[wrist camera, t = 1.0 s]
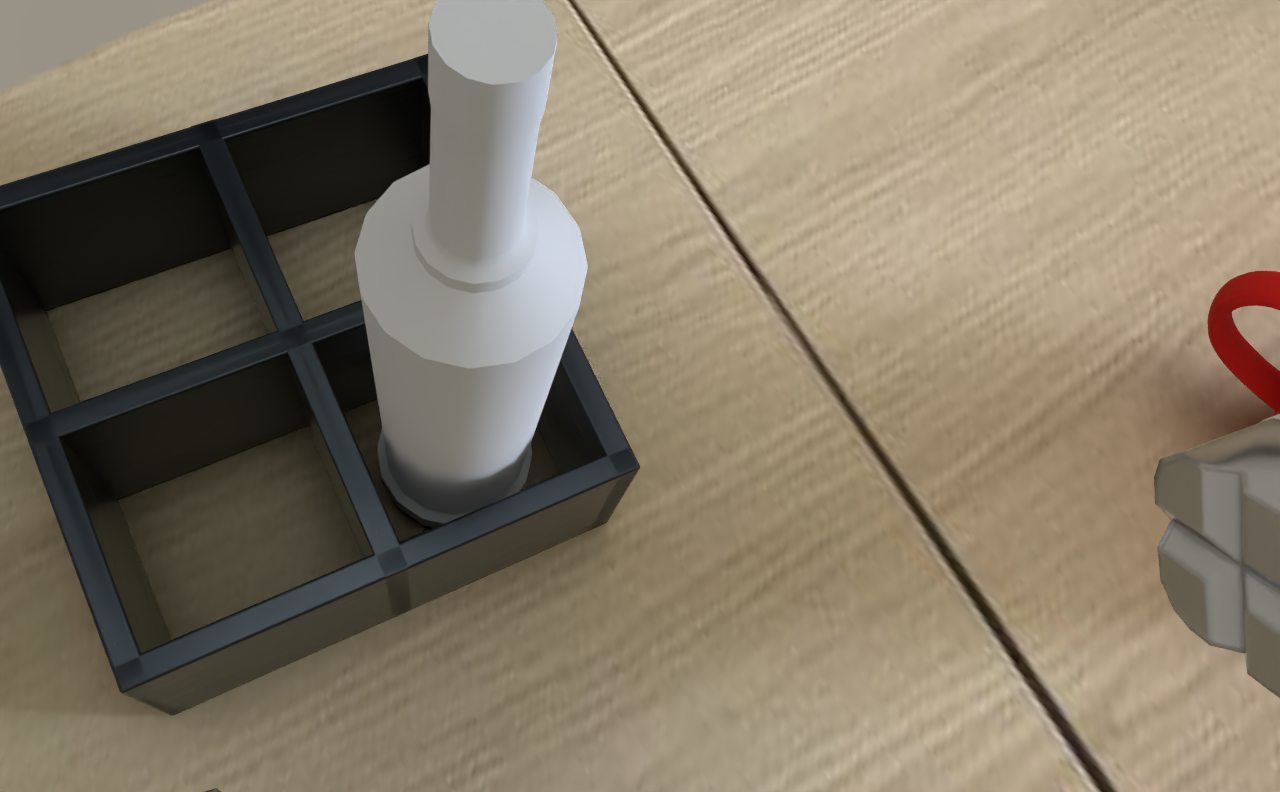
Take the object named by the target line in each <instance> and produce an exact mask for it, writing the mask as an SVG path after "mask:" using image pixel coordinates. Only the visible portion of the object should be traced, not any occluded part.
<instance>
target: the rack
mask: <svg viewBox="0 0 1280 792" xmlns="http://www.w3.org/2000/svg"><path fill="white" fill-rule="evenodd" d="M430 130H431V104H430V98H429V93H428V54H426V55H422V56H419V57H416V58H413V59H411V60H407V61H404V62H401V63H398V64H394V65H391V66H388V67H385V68H381V69H378V70H375V71H372V72H368V73H365V74H362V75H359V76H355V77H352V78H349V79H346V80H342V81H339V82H336V83H333V84H329V85H326V86H323V87H320V88H316V89H313V90H310V91H307V92H303V93H300V94H297V95H294V96H290V97H287V98H284V99H281V100H277V101H274V102H271V103H268V104H264V105H261V106H258V107H255V108H251V109H248V110H245V111H242V112H238V113H235V114H232V115H229V116H225V117H222V118H219V119H216V120H211V121H207V122H204V123H201V124H198V125H194V126H191V127H190V128H186V129H183V130H180V131H177V132H173V133H170V134H167V135H164V136H160V137H157V138H154V139H151V140H147V141H144V142H141V143H138V144H134V145H131V146H128V147H125V148H121V149H118V150H115V151H112V152H108V153H105V154H102V155H99V156H95V157H92V158H89V159H86V160H82V161H79V162H76V163H73V164H69V165H66V166H63V167H60V168H56V169H53V170H50V171H47V172H43V173H40V174H37V175H34V176H30V177H27V178H24V179H20V180H17V181H14V182H11V183H7V184H4V185H1V186H0V365H1V368H2V371H3V374H4V376H5V379H6V382H7V385H8V387H9V390H10V393H11V395H12V398H13V401H14V404H15V406H16V409H17V412H18V415H19V417H20V420H21V423H22V425H23V428H24V431H25V434H26V436H27V439H28V442H29V445H30V447H31V450H32V453H33V455H34V458H35V461H36V464H37V466H38V469H39V472H40V475H41V477H42V480H43V483H44V486H45V488H46V491H47V494H48V496H49V499H50V502H51V505H52V507H53V510H54V513H55V516H56V518H57V521H58V524H59V526H60V529H61V532H62V535H63V537H64V540H65V543H66V546H67V548H68V551H69V554H70V556H71V559H72V562H73V565H74V567H75V570H76V573H77V576H78V578H79V581H80V584H81V587H82V589H83V592H84V595H85V597H86V600H87V603H88V606H89V608H90V611H91V614H92V617H93V619H94V622H95V625H96V627H97V630H98V633H99V636H100V638H101V641H102V644H103V647H104V649H105V652H106V655H107V657H108V660H109V663H110V666H111V668H112V671H113V674H114V677H115V679H116V682H117V685H118V688H119V690H120V692H121V693H123V694H125V695H127V696H129V697H132V698H134V699H136V700H138V701H140V702H143V703H145V704H147V705H149V706H151V707H154V708H156V709H158V710H160V711H162V712H165V713H167V714H169V715H175V714H177V713H180V712H182V711H184V710H186V709H189V708H191V707H193V706H195V705H198V704H200V703H202V702H204V701H207V700H209V699H211V698H213V697H216V696H218V695H220V694H222V693H225V692H227V691H229V690H231V689H234V688H236V687H238V686H240V685H243V684H245V683H247V682H249V681H252V680H254V679H256V678H258V677H261V676H263V675H265V674H267V673H270V672H272V671H274V670H276V669H279V668H281V667H283V666H285V665H287V664H290V663H292V662H294V661H296V660H299V659H301V658H303V657H305V656H308V655H310V654H312V653H314V652H317V651H319V650H321V649H323V648H326V647H328V646H330V645H332V644H335V643H337V642H339V641H341V640H344V639H346V638H348V637H350V636H353V635H355V634H357V633H359V632H362V631H364V630H366V629H368V628H371V627H373V626H375V625H377V624H380V623H382V622H384V621H386V620H389V619H391V618H393V617H396V616H398V615H400V614H402V613H405V612H407V611H409V610H411V609H413V608H415V607H418V606H420V605H422V604H424V603H427V602H429V601H431V600H433V599H436V598H438V597H440V596H442V595H445V594H447V593H449V592H451V591H454V590H456V589H458V588H460V587H463V586H465V585H467V584H469V583H472V582H474V581H476V580H478V579H481V578H483V577H485V576H487V575H490V574H492V573H494V572H496V571H499V570H501V569H503V568H505V567H508V566H510V565H512V564H514V563H517V562H519V561H521V560H523V559H526V558H528V557H530V556H532V555H535V554H537V553H539V552H541V551H543V550H546V549H548V548H550V547H552V546H555V545H557V544H559V543H561V542H564V541H566V540H568V539H570V538H573V537H575V536H577V535H579V534H582V533H584V532H586V531H588V530H591V529H593V528H595V527H598V526H600V525H602V524H604V523H607V521H608V520H609V518H610V516H611V515H612V513H613V511H614V510H615V508H616V507H617V505H618V503H619V502H620V500H621V498H622V497H623V495H624V493H625V492H626V490H627V488H628V487H629V485H630V483H631V482H632V480H633V478H634V477H635V475H636V474H637V472H638V470H639V469H640V465H639V463H638V461H637V459H636V457H635V455H634V453H633V451H632V449H631V447H630V445H629V443H628V441H627V439H626V437H625V435H624V433H623V431H622V429H621V427H620V425H619V423H618V421H617V419H616V417H615V415H614V413H613V411H612V409H611V407H610V405H609V403H608V401H607V399H606V397H605V395H604V393H603V391H602V389H601V387H600V384H599V382H598V380H597V378H596V376H595V374H594V372H593V370H592V368H591V366H590V364H589V362H588V360H587V358H586V356H585V354H584V352H583V350H582V348H581V346H580V344H579V342H578V340H577V338H576V336H575V334H574V332H573V330H572V328H571V331H570V334H569V337H568V340H567V342H566V345H565V348H564V351H563V354H562V356H561V359H560V362H559V365H558V368H557V370H556V373H555V376H554V379H553V382H552V384H551V387H550V390H549V393H548V396H547V399H546V401H545V404H544V407H543V410H542V413H541V415H540V418H539V421H538V424H537V426H538V428H539V430H540V432H541V434H542V436H543V438H544V440H545V443H546V445H547V447H548V449H549V451H550V453H551V455H552V457H553V459H554V461H555V464H556V466H557V468H558V470H559V472H560V474H559V475H557V476H555V477H552V478H550V479H548V480H545V481H543V482H541V483H538V484H536V485H534V486H531V487H529V488H527V489H524V490H522V491H520V492H517V493H515V494H513V495H510V496H508V497H506V498H503V499H501V500H498V501H496V502H494V503H491V504H489V505H487V506H484V507H482V508H480V509H477V510H475V511H473V512H470V513H468V514H466V515H463V516H461V517H459V518H456V519H454V520H452V521H449V522H447V523H445V524H442V525H440V526H438V527H435V528H433V529H431V530H428V531H426V532H424V533H421V534H419V535H417V536H414V537H412V538H410V539H407V540H405V541H403V542H399V539H398V537H397V535H396V532H395V530H394V528H393V526H392V523H391V521H390V519H389V516H388V514H387V512H386V510H385V507H384V505H383V503H382V500H381V498H380V496H379V493H378V491H377V489H376V487H375V484H374V482H373V480H372V477H371V475H370V473H369V471H368V468H367V466H366V464H365V461H364V459H363V457H362V454H361V452H360V450H359V448H358V445H357V443H356V441H355V438H354V436H353V434H352V432H351V429H350V427H349V425H348V422H347V420H346V418H345V416H344V413H343V412H344V411H347V410H349V409H352V408H354V407H357V406H360V405H362V404H365V403H367V402H370V401H372V400H375V399H378V398H377V392H376V386H375V380H374V374H373V368H372V361H371V355H370V349H369V343H368V337H367V331H366V325H365V319H364V313H363V306H362V300H361V301H358V302H355V303H353V304H350V305H347V306H344V307H342V308H339V309H336V310H333V311H331V312H328V313H325V314H322V315H320V316H317V317H314V318H311V319H309V320H306V321H303V319H302V317H301V315H300V312H299V310H298V308H297V305H296V303H295V301H294V299H293V296H292V294H291V292H290V289H289V287H288V285H287V283H286V280H285V278H284V276H283V273H282V271H281V269H280V266H279V264H278V262H277V260H276V257H275V255H274V253H273V250H272V248H271V246H270V244H269V241H268V239H267V237H266V235H269V234H272V233H275V232H278V231H281V230H284V229H287V228H290V227H293V226H296V225H299V224H302V223H305V222H308V221H310V220H313V219H316V218H319V217H322V216H325V215H328V214H331V213H334V212H337V211H340V210H343V209H346V208H349V207H352V206H355V205H358V204H361V203H364V202H366V201H369V200H372V199H375V198H378V197H381V196H382V195H383V194H384V193H385V191H386V190H387V189H388V188H389V187H390V186H391V185H392V183H393V182H395V181H397V180H399V179H401V178H403V177H405V176H407V175H409V174H411V173H413V172H415V171H417V170H419V169H421V168H423V167H425V166H427V165H429V164H430ZM228 248H232V251H233V253H234V255H235V258H236V260H237V262H238V265H239V267H240V269H241V272H242V274H243V276H244V279H245V281H246V283H247V286H248V288H249V290H250V293H251V295H252V297H253V300H254V302H255V304H256V307H257V309H258V311H259V314H260V316H261V318H262V321H263V323H264V325H265V328H266V330H267V332H268V334H267V335H265V336H262V337H259V338H256V339H254V340H251V341H248V342H245V343H243V344H240V345H237V346H234V347H232V348H229V349H226V350H223V351H221V352H218V353H215V354H212V355H210V356H207V357H204V358H201V359H199V360H196V361H193V362H190V363H188V364H185V365H182V366H179V367H177V368H174V369H171V370H168V371H166V372H163V373H160V374H157V375H155V376H152V377H149V378H146V379H144V380H141V381H138V382H135V383H133V384H130V385H127V386H124V387H122V388H119V389H116V390H113V391H111V392H108V393H105V394H102V395H100V396H97V397H94V398H91V399H89V400H86V401H83V402H80V400H79V397H78V395H77V392H76V389H75V387H74V384H73V382H72V379H71V376H70V374H69V371H68V368H67V366H66V363H65V361H64V358H63V355H62V353H61V350H60V347H59V345H58V342H57V340H56V337H55V334H54V332H53V329H52V326H51V324H50V321H49V319H48V316H47V313H46V311H45V310H48V309H51V308H54V307H57V306H60V305H63V304H66V303H69V302H72V301H75V300H78V299H81V298H84V297H87V296H89V295H92V294H95V293H98V292H101V291H104V290H107V289H110V288H113V287H116V286H119V285H122V284H125V283H128V282H131V281H134V280H137V279H140V278H143V277H145V276H148V275H151V274H154V273H157V272H160V271H163V270H166V269H169V268H172V267H175V266H178V265H181V264H184V263H187V262H190V261H193V260H196V259H198V258H201V257H204V256H207V255H210V254H213V253H216V252H219V251H222V250H225V249H228ZM306 426H308V428H309V431H310V433H311V435H312V438H313V440H314V442H315V445H316V447H317V449H318V452H319V454H320V457H321V459H322V461H323V464H324V466H325V468H326V471H327V473H328V475H329V478H330V480H331V482H332V485H333V487H334V489H335V492H336V494H337V496H338V499H339V501H340V503H341V506H342V508H343V510H344V513H345V515H346V517H347V520H348V522H349V524H350V527H351V529H352V531H353V534H354V536H355V538H356V541H357V543H358V545H359V548H360V550H361V552H362V555H363V557H364V558H363V559H360V560H358V561H356V562H353V563H351V564H349V565H346V566H344V567H342V568H339V569H337V570H335V571H332V572H330V573H328V574H325V575H323V576H321V577H318V578H316V579H314V580H311V581H309V582H307V583H304V584H302V585H300V586H297V587H295V588H293V589H290V590H288V591H286V592H283V593H281V594H279V595H276V596H274V597H272V598H269V599H267V600H265V601H262V602H260V603H257V604H255V605H253V606H250V607H248V608H246V609H243V610H241V611H239V612H236V613H234V614H232V615H229V616H227V617H225V618H222V619H220V620H218V621H215V622H213V623H211V624H208V625H206V626H204V627H201V628H199V629H197V630H194V631H192V632H190V633H187V634H185V635H183V636H180V637H178V638H176V639H173V640H171V639H170V636H169V634H168V631H167V629H166V626H165V623H164V621H163V618H162V615H161V613H160V610H159V608H158V605H157V602H156V600H155V597H154V594H153V592H152V589H151V587H150V584H149V581H148V579H147V576H146V573H145V571H144V568H143V566H142V563H141V560H140V558H139V555H138V552H137V550H136V547H135V544H134V542H133V539H132V537H131V534H130V531H129V529H128V526H127V523H126V521H125V518H124V516H123V513H122V510H121V508H120V505H119V502H118V499H121V498H123V497H126V496H128V495H131V494H133V493H136V492H139V491H141V490H144V489H146V488H149V487H151V486H154V485H157V484H159V483H162V482H164V481H167V480H169V479H172V478H175V477H177V476H180V475H182V474H185V473H187V472H190V471H193V470H195V469H198V468H200V467H203V466H205V465H208V464H211V463H213V462H216V461H218V460H221V459H223V458H226V457H228V456H231V455H234V454H236V453H239V452H241V451H244V450H246V449H249V448H252V447H254V446H257V445H259V444H262V443H264V442H267V441H270V440H272V439H275V438H277V437H280V436H282V435H285V434H288V433H290V432H293V431H295V430H298V429H300V428H303V427H306Z"/></svg>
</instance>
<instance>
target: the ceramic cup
mask: <svg viewBox="0 0 1280 792" xmlns="http://www.w3.org/2000/svg"><path fill="white" fill-rule="evenodd" d="M1255 305H1258V306H1266V307H1271V308H1275V309H1278V310H1280V272H1275V271H1255V272H1249V273H1246V274H1243V275H1240V276H1237V277H1235V278H1233V279H1231V280H1230V281H1228V282H1227V283H1226V284H1225V285H1224V286H1223V287H1222V288H1221V289H1220V290H1219V292H1218V293H1217V294H1216V296H1215V298H1214V300H1213V302H1212V305H1211V307H1210V311H1209V315H1208V334H1209V338H1210V341H1211V344H1212V346H1213V348H1214V350H1215V352H1216V353H1217V355H1218V356H1219V357H1220V359H1221V360H1222V362H1223V363H1224V364H1225V365H1226V366H1227V368H1228V369H1229V370H1230V371H1231V372H1232V373H1233V374H1234V375H1235V376H1236V377H1237V378H1238V379H1239V380H1240V381H1241V382H1242V383H1243V384H1244V385H1245V386H1246V387H1247V388H1249V389H1250V390H1251V391H1252V392H1253V393H1254V394H1255V395H1257V396H1258V397H1259V398H1260V399H1261V400H1262V401H1264V402H1265V403H1266V404H1267V405H1269V406H1270V407H1271V408H1272V409H1273V410H1275V413H1274V416H1275V415H1278V414H1280V371H1278V370H1277V369H1276V368H1275V367H1273V366H1272V365H1271V364H1270V363H1269V362H1268V361H1266V360H1265V359H1264V358H1263V357H1262V356H1261V355H1260V354H1259V353H1258V352H1257V351H1256V350H1255V349H1254V348H1253V347H1252V346H1251V345H1250V344H1249V343H1248V342H1247V341H1246V340H1245V339H1244V337H1243V336H1242V335H1241V334H1240V332H1239V331H1238V329H1237V328H1236V326H1235V324H1234V321H1233V318H1232V311H1233V310H1235V309H1237V308H1240V307H1244V306H1255Z"/></svg>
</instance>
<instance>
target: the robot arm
mask: <svg viewBox="0 0 1280 792" xmlns="http://www.w3.org/2000/svg"><path fill="white" fill-rule="evenodd" d="M1154 486H1155V504H1156V505H1157V506H1158V507H1159V508H1160V509H1161V510H1162V511H1163V512H1164V513H1165V514H1166V515H1167V516H1168V517H1169V518H1171V519H1172V520H1171V522H1170V524H1169V526H1168V528H1167V530H1166V532H1165V534H1164V536H1163V538H1162V540H1161V542H1160V544H1159V546H1158V557H1159V567H1160V577H1161V582H1162V584H1163V586H1164V589H1165V591H1166V593H1167V595H1168V598H1169V600H1170V602H1171V604H1172V607H1173V609H1174V610H1175V612H1176V613H1177V614H1178V615H1179V617H1180V618H1181V619H1182V620H1183V622H1184V623H1185V624H1186V625H1187V627H1188V628H1189V629H1190V630H1191V631H1193V632H1194V633H1195V634H1196V635H1198V636H1199V637H1200V638H1201V639H1203V640H1204V641H1205V642H1206V643H1208V644H1209V645H1211V646H1215V647H1220V648H1224V649H1228V650H1232V651H1236V652H1241V653H1245V660H1246V667H1247V674H1248V675H1250V676H1251V677H1252V678H1254V679H1255V680H1256V681H1258V682H1259V683H1260V684H1262V685H1263V686H1264V687H1266V688H1267V689H1268V690H1270V691H1271V692H1272V693H1274V694H1275V695H1276V696H1278V697H1279V698H1280V414H1278V415H1275V416H1273V417H1270V418H1268V419H1265V420H1262V421H1261V422H1260V423H1258V424H1255V425H1252V426H1250V427H1247V428H1244V429H1241V430H1239V431H1236V432H1233V433H1231V434H1228V435H1225V436H1222V437H1220V438H1217V439H1214V440H1212V441H1209V442H1206V443H1204V444H1201V445H1198V446H1195V447H1193V448H1190V449H1187V450H1185V451H1182V452H1179V453H1176V454H1174V455H1171V456H1168V457H1166V458H1163V459H1160V461H1159V464H1158V468H1157V471H1156V474H1155V477H1154ZM205 792H221V791H220V790H218V789H217V788H215V789H212V790H209V791H205Z"/></svg>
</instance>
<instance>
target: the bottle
mask: <svg viewBox="0 0 1280 792" xmlns="http://www.w3.org/2000/svg"><path fill="white" fill-rule="evenodd" d="M557 38H558V33H557V28H556V24H555V19H554V15H553V13H552V12H551V10H550V9H549V7H548V6H547V5H546V3H545V2H544V1H543V0H437V1H436V2H435V4H434V7H433V10H432V14H431V17H430V21H429V36H428V93H429V98H430V104H431V130H430V164H429V165H427V166H425V167H423V168H421V169H419V170H417V171H415V172H413V173H411V174H409V175H407V176H405V177H403V178H401V179H399V180H397V181H395V182H393V183H392V185H391V186H390V187H389V188H388V189H387V190H386V191H385V193H384V194H383V195H382V196H381V197H380V198H379V199H378V201H377V202H376V203H375V204H374V205H373V206H372V207H371V209H370V210H369V211H368V212H367V213H366V216H365V219H364V222H363V226H362V229H361V232H360V236H359V239H358V242H357V246H356V249H355V252H354V255H355V261H356V268H357V274H358V281H359V288H360V294H361V300H362V306H363V313H364V319H365V325H366V331H367V337H368V343H369V349H370V355H371V361H372V368H373V374H374V380H375V386H376V392H377V398H378V404H379V410H380V417H381V423H382V431H381V434H380V438H379V442H378V445H377V451H378V458H379V464H380V471H381V478H382V482H383V484H384V485H385V487H386V489H387V490H388V492H389V493H390V495H391V496H392V498H393V500H394V501H395V503H396V504H397V506H398V507H399V509H401V510H402V511H403V512H405V513H406V514H408V515H409V516H411V517H412V518H414V519H415V520H416V521H418V522H419V523H421V524H422V525H424V526H429V527H433V528H435V527H438V526H440V525H442V524H445V523H447V522H449V521H452V520H454V519H456V518H459V517H461V516H463V515H466V514H468V513H470V512H473V511H475V510H477V509H480V508H482V507H484V506H487V505H489V504H491V503H494V502H496V501H498V500H501V499H503V498H506V497H508V496H510V495H513V494H515V493H517V492H520V491H521V490H522V489H523V487H524V485H525V483H526V480H527V476H528V471H529V467H530V462H531V458H532V453H533V452H532V447H531V441H532V438H533V435H534V432H535V429H536V427H537V424H538V421H539V418H540V415H541V413H542V410H543V407H544V404H545V401H546V399H547V396H548V393H549V390H550V387H551V384H552V382H553V379H554V376H555V373H556V370H557V368H558V365H559V362H560V359H561V356H562V354H563V351H564V348H565V345H566V342H567V340H568V337H569V334H570V331H571V328H572V326H573V323H574V320H575V317H576V314H577V311H578V309H579V305H580V301H581V296H582V292H583V287H584V283H585V278H586V274H587V269H588V265H587V261H586V256H585V251H584V247H583V242H582V237H581V233H580V228H579V226H578V225H577V223H576V222H575V220H574V219H573V218H572V216H571V215H570V213H569V212H568V210H567V209H566V208H565V206H564V205H563V203H562V202H561V201H560V199H559V198H558V196H557V195H556V193H554V192H553V191H551V190H550V189H548V188H547V187H545V186H544V185H542V184H541V183H539V182H538V181H536V180H535V179H533V178H532V177H531V175H532V169H533V163H534V156H535V150H536V144H537V138H538V132H539V125H540V121H541V120H542V118H543V113H544V109H545V105H546V101H547V96H548V90H549V85H550V79H551V73H552V67H553V61H554V56H555V50H556V44H557Z"/></svg>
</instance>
